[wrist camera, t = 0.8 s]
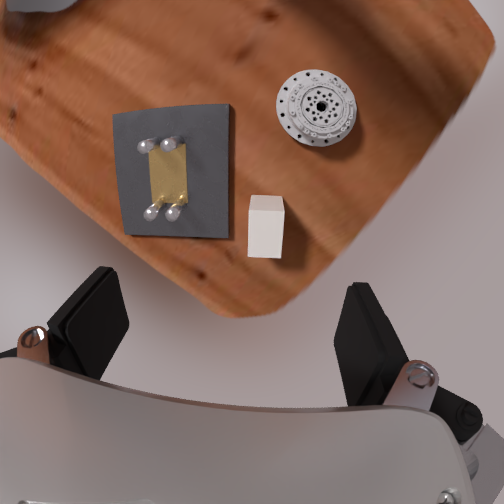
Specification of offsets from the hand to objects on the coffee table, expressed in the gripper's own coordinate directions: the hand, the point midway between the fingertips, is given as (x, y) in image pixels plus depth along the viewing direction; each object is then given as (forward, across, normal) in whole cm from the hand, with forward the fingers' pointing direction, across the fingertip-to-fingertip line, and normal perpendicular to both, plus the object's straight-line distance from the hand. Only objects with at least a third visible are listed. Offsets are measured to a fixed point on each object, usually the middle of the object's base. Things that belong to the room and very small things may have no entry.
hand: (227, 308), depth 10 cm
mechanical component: (+27, -7, -10) cm, 30 cm away
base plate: (+27, +11, -1) cm, 29 cm away
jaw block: (+27, -2, +5) cm, 28 cm away
